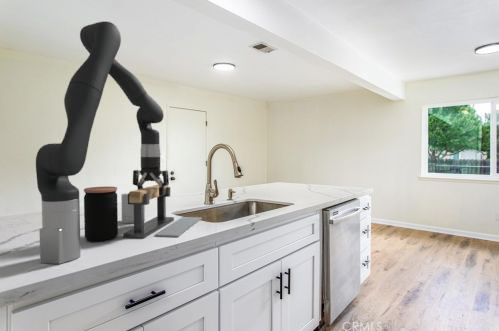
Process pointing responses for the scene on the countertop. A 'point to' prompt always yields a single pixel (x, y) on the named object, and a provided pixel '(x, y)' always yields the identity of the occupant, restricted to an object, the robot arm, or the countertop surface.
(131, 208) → the supplement box
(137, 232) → the rack
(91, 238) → the coffee jar
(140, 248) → the countertop surface
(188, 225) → the mat
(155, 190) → the rail
